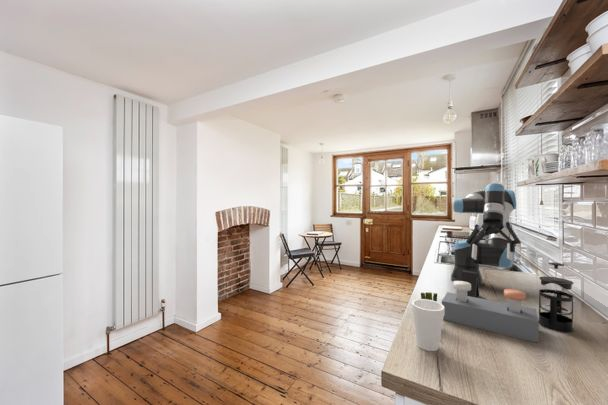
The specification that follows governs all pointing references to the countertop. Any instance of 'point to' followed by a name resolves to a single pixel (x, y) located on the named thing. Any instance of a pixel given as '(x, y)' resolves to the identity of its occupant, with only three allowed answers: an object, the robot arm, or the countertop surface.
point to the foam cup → (427, 323)
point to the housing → (492, 316)
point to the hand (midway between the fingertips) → (490, 258)
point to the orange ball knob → (514, 299)
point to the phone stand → (471, 282)
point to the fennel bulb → (429, 296)
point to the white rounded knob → (462, 290)
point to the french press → (556, 304)
